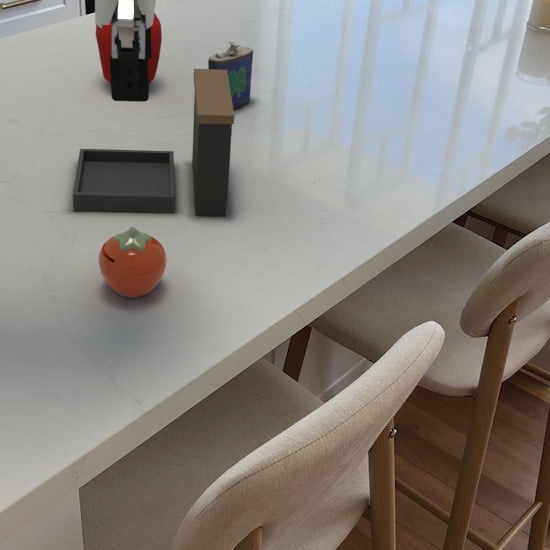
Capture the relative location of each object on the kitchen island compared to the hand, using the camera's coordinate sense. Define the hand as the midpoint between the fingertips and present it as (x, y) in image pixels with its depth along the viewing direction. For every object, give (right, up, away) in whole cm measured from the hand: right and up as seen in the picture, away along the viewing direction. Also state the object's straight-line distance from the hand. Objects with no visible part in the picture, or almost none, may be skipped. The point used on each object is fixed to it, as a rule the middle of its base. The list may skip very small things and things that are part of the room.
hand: (132, 78), depth 81 cm
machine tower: (+4, -7, +38) cm, 39 cm away
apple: (-11, +13, +65) cm, 67 cm away
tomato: (-3, -20, +18) cm, 27 cm away
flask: (+6, +9, +61) cm, 62 cm away
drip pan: (-7, -6, +37) cm, 38 cm away
